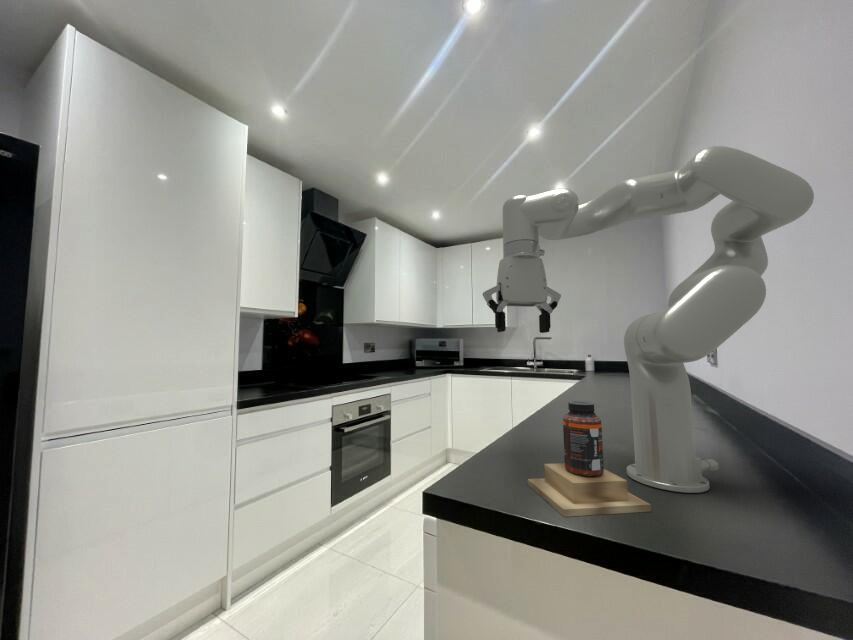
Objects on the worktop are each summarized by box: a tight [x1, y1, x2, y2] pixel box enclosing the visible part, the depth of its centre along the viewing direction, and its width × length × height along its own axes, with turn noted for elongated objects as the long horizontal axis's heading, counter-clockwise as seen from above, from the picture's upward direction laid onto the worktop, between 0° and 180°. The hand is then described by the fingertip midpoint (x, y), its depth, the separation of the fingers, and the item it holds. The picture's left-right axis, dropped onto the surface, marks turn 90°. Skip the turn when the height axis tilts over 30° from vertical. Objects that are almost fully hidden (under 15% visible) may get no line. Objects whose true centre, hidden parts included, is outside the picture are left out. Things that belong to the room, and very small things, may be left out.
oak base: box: [527, 462, 652, 518], centre depth 54 cm, size 14×12×4 cm
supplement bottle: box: [562, 400, 605, 476], centre depth 55 cm, size 6×6×11 cm
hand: (523, 332), depth 70 cm, fingers open, 9 cm apart
